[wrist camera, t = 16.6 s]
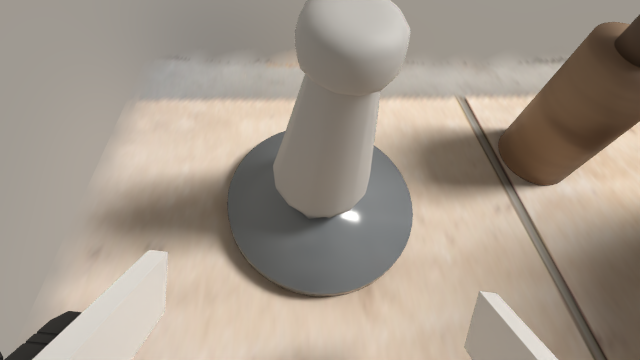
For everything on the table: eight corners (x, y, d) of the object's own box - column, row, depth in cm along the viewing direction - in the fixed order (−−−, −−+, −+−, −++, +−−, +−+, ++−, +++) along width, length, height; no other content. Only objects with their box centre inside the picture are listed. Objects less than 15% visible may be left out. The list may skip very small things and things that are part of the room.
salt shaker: (256, 178, 24) (243, -17, 13) (325, 142, 26) (366, -50, 15) (307, 249, 21) (345, 89, 10) (378, 203, 24) (471, 32, 13)
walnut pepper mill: (542, 124, 31) (674, -12, 21) (581, 178, 28) (756, 53, 18) (486, 132, 30) (598, -8, 19) (522, 190, 27) (674, 63, 17)
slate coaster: (373, 126, 29) (377, 117, 28) (436, 271, 23) (442, 266, 22) (218, 147, 26) (216, 138, 25) (244, 319, 20) (243, 315, 19)
